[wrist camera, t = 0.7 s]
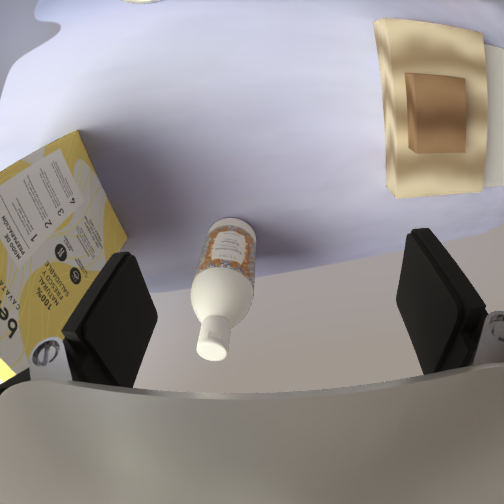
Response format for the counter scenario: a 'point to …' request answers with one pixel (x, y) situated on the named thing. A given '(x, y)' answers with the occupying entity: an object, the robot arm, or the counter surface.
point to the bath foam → (223, 284)
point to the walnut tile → (436, 113)
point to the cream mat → (494, 117)
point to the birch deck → (395, 105)
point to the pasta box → (49, 244)
